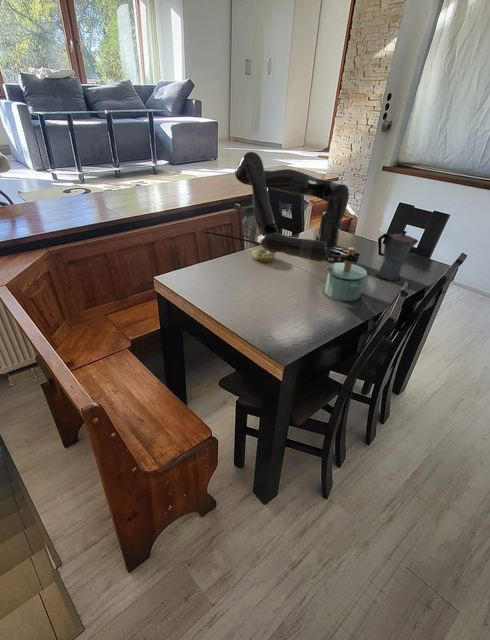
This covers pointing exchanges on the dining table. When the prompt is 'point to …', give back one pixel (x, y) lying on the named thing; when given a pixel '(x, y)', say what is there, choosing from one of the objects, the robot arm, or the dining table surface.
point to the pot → (343, 288)
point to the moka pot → (395, 254)
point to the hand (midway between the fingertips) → (358, 258)
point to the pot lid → (347, 269)
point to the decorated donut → (263, 255)
